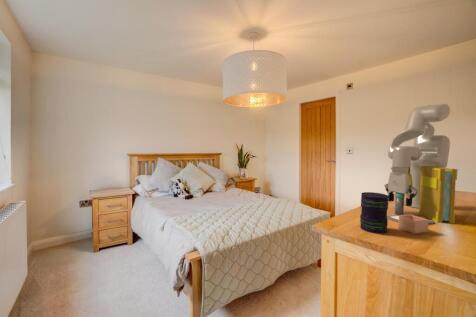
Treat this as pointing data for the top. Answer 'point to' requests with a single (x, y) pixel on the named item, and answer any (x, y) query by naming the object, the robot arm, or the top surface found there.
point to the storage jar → (374, 212)
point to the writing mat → (396, 217)
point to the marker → (399, 203)
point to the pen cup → (413, 224)
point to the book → (438, 193)
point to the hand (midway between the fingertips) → (399, 203)
